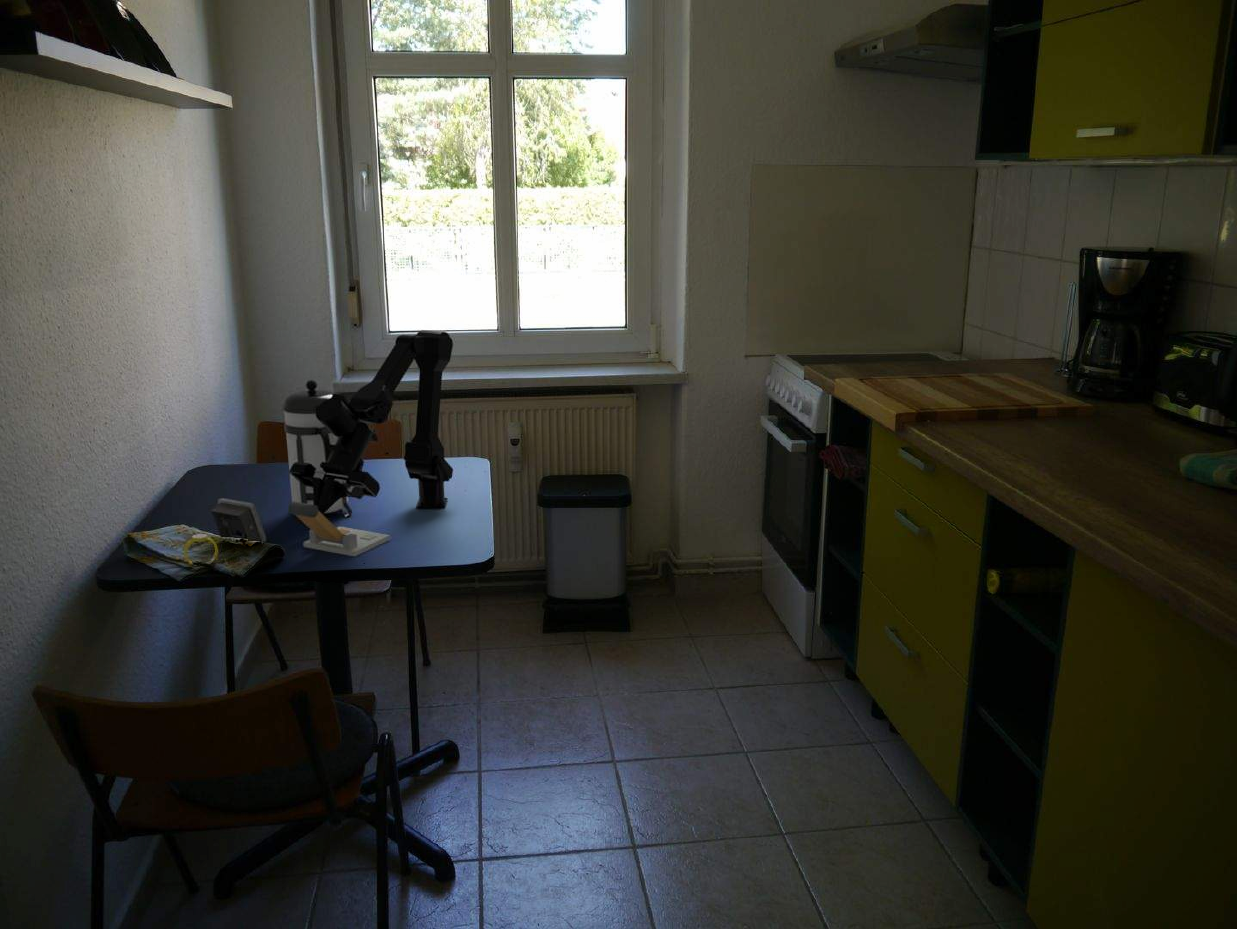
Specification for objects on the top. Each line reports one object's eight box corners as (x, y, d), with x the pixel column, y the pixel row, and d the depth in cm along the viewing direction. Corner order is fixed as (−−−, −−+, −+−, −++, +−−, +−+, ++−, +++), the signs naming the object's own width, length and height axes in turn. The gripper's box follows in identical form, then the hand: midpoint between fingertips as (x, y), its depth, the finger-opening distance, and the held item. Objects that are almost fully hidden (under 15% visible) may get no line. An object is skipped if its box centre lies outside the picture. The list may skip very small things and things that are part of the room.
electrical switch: (267, 542, 211) (260, 500, 207) (249, 552, 206) (241, 509, 203) (233, 536, 214) (225, 494, 211) (214, 546, 210) (206, 503, 207)
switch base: (340, 530, 218) (338, 515, 217) (389, 539, 212) (388, 523, 211) (303, 546, 208) (302, 530, 207) (354, 556, 203) (353, 539, 202)
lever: (326, 532, 208) (290, 499, 198) (349, 536, 206) (315, 503, 196) (321, 542, 207) (285, 509, 197) (344, 547, 205) (309, 513, 194)
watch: (216, 561, 201) (216, 532, 199) (219, 565, 198) (218, 536, 197) (183, 564, 198) (182, 535, 196) (185, 569, 195) (184, 539, 194)
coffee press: (268, 520, 224) (256, 384, 216) (314, 500, 238) (304, 372, 231) (334, 530, 218) (324, 390, 210) (378, 508, 232) (370, 377, 224)
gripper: (406, 474, 210) (375, 542, 203) (334, 463, 218) (302, 528, 211) (379, 445, 201) (346, 515, 194) (305, 435, 209) (270, 503, 202)
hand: (316, 516), depth 201 cm, fingers closed, pressing on lever
